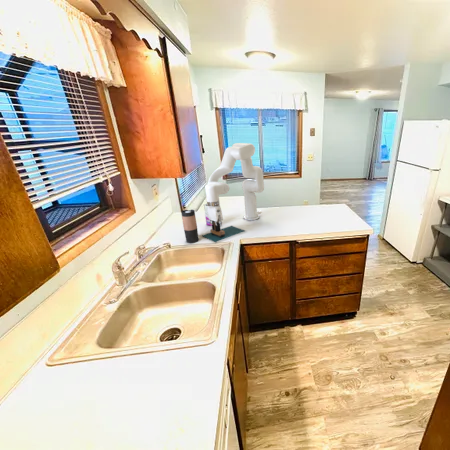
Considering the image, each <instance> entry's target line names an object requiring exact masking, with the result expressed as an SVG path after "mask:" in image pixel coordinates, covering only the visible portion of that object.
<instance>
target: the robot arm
mask: <svg viewBox="0 0 450 450" xmlns="http://www.w3.org/2000/svg"><path fill="white" fill-rule="evenodd" d="M255 153H256V146H255V145H254V144H253V143H249V142H248V143H247V142H236V143H233V144H232V145H231V146H228V147H226V149H225V150H224V153H223V157H222V159H221V162H220V164H219V166H218V167H217V168H216V169H214V171H213V172H212V173H211V174H210V175H209V178H208V181H207V184H206V185H204V189H205V191H204V192H205V198H206V199H205V200H206V204H207V206H208V218H209V220H210V221H211V224H212V226H211V229H212V230H215V229H216V232H217V231H220V229H221V226H220V224H221V225H222V223H223V220H224V218H223V212H222V207H221V205H220V204H221V203H220V195H225V194H228V193H229V191H230V186H229V184H228V183H227V182H224V181H223V182H222V181H219V180H220V179H221V178H222V177H224V176H226V175H228V174H230V173H232V172H233V171H234V167H235V165H236V162H237V161H240V165H241V166H240V167H241V173H242V177H243V178H245V179H244V180H243V181H242V183H241V188H242V192H243V200H244V216H243V219H244V220H246V221H254V220H258V219H260V214H262V211H261V210H260V211H258V206H257V204H258V203H257V195H256V193H258V194H259V193H263V192H264V190H265V181H264V171H263V168H262V167H260V166H258V165H253V158H252V157H253V156H254V155H255ZM213 222H215V224H216V226H215V228H214V224H213ZM217 222H218V223H217Z"/></svg>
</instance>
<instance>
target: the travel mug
mask: <svg viewBox="0 0 450 450" xmlns="http://www.w3.org/2000/svg"><path fill="white" fill-rule="evenodd" d="M180 213H181V220H182V225H183V226H182V227H183V231H184V236H185V237H184V238H185V241H186V243H188V244H194V243H197V242H198V241H199V233H198V232H199V231H198V225H197V219H196V211H195V209H190V210H189V209H183V210H181V211H180Z"/></svg>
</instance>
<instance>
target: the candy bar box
mask: <svg viewBox="0 0 450 450" xmlns="http://www.w3.org/2000/svg"><path fill="white" fill-rule="evenodd" d="M203 208H204V209H203V210H204V216H205V223H206V224H205V225H206V226H209V227H212V224H211V221H210V220H209V218H208V206H207V203H204V204H203ZM221 226H222V223H221V224H220V227H221Z"/></svg>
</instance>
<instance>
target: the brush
mask: <svg viewBox="0 0 450 450" xmlns="http://www.w3.org/2000/svg"><path fill="white" fill-rule="evenodd" d="M217 223H218V222H217ZM213 224H214V228H215V226H216V224H215V222H213ZM210 233H211V234H212V235H214V236H217V237H219V238H221V237H223V236H225V232H224V231H223V230H220V231H217V232H216V229H215V230H212V228H211V229H210Z"/></svg>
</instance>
